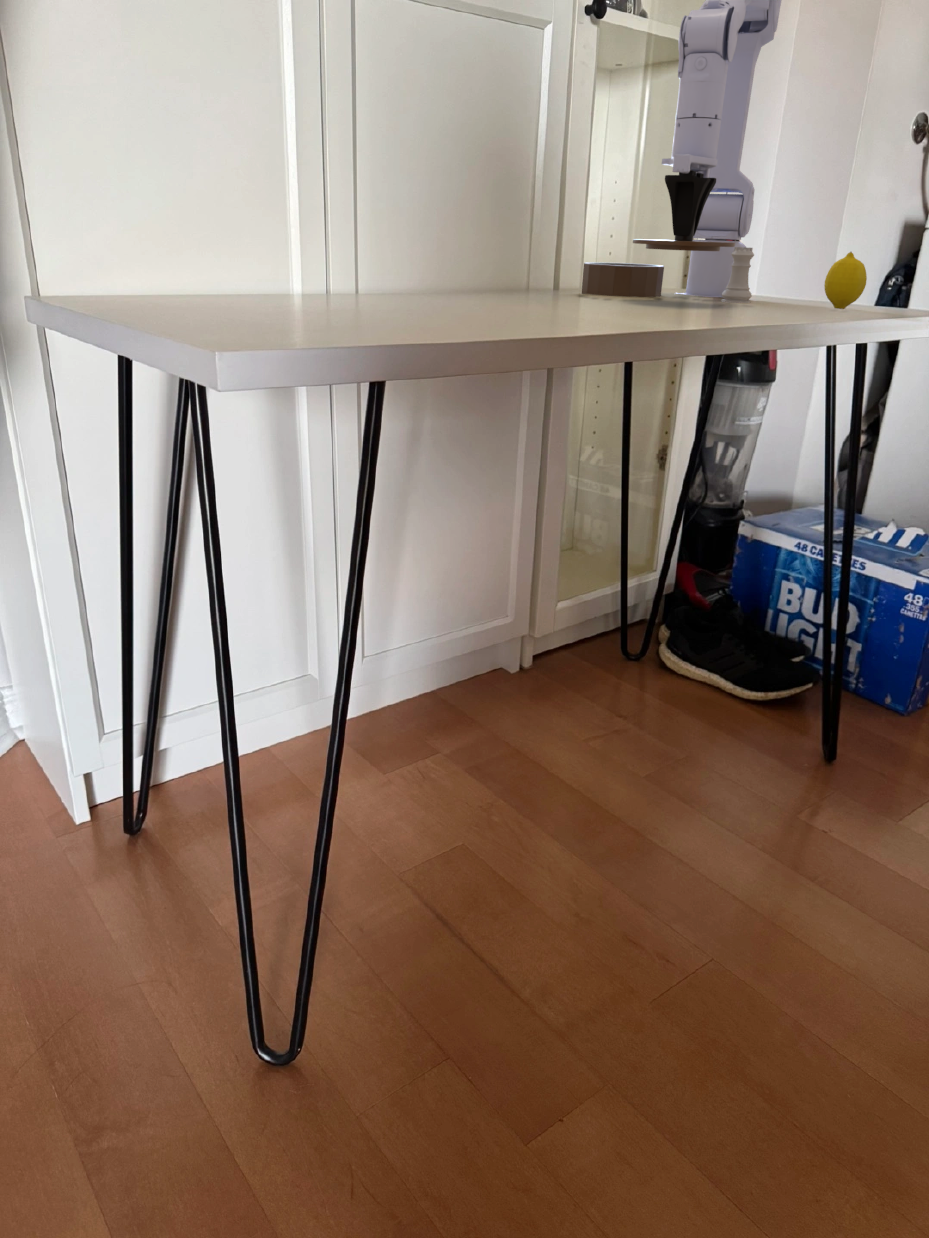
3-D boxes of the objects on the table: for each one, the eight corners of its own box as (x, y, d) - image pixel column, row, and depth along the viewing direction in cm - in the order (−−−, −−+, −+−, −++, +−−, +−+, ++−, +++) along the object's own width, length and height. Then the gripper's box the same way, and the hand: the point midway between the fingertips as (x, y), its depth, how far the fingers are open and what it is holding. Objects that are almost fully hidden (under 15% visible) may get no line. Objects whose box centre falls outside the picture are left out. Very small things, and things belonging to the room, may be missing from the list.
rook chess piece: (743, 304, 134) (752, 247, 131) (755, 307, 130) (764, 248, 127) (715, 304, 133) (723, 246, 130) (726, 306, 129) (735, 247, 126)
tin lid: (678, 248, 128) (683, 206, 126) (755, 252, 118) (762, 206, 116) (611, 247, 121) (615, 202, 118) (687, 251, 111) (693, 202, 108)
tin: (620, 294, 148) (623, 262, 146) (676, 300, 139) (680, 266, 137) (565, 295, 142) (567, 262, 140) (620, 301, 132) (623, 266, 131)
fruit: (867, 311, 129) (879, 252, 126) (848, 312, 125) (860, 252, 122) (831, 308, 133) (842, 251, 129) (812, 309, 129) (823, 250, 126)
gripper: (678, 127, 121) (666, 235, 126) (654, 114, 109) (641, 234, 114) (731, 126, 118) (716, 237, 124) (712, 113, 106) (696, 236, 112)
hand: (684, 236), depth 119 cm, fingers closed on tin lid, 2 cm apart
